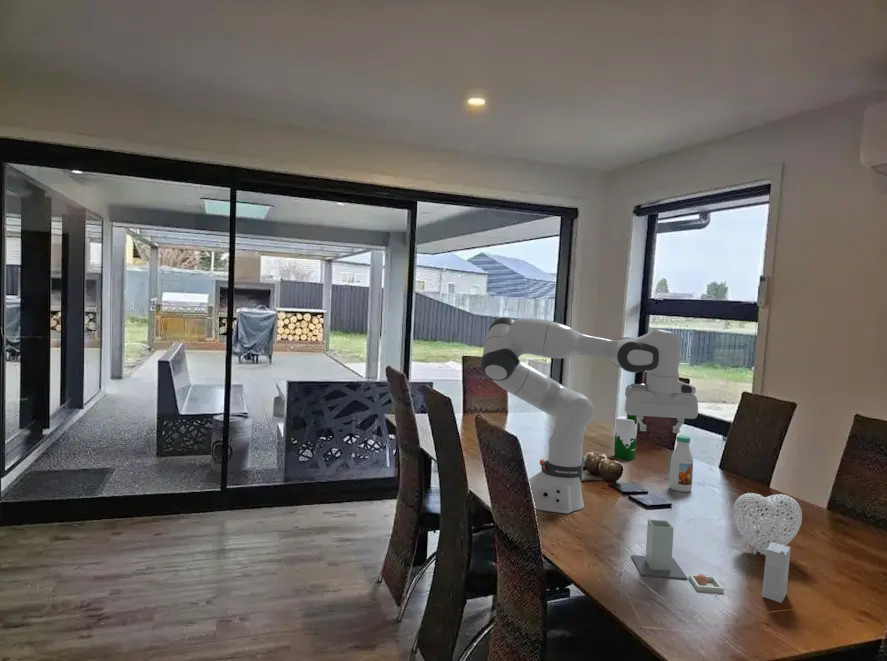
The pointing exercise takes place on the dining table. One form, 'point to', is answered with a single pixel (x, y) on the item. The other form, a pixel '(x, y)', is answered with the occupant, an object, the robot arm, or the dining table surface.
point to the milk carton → (625, 437)
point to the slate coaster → (646, 571)
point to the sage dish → (707, 588)
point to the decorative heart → (766, 520)
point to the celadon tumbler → (659, 545)
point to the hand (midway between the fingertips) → (659, 431)
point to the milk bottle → (681, 466)
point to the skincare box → (776, 572)
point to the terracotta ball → (702, 580)
